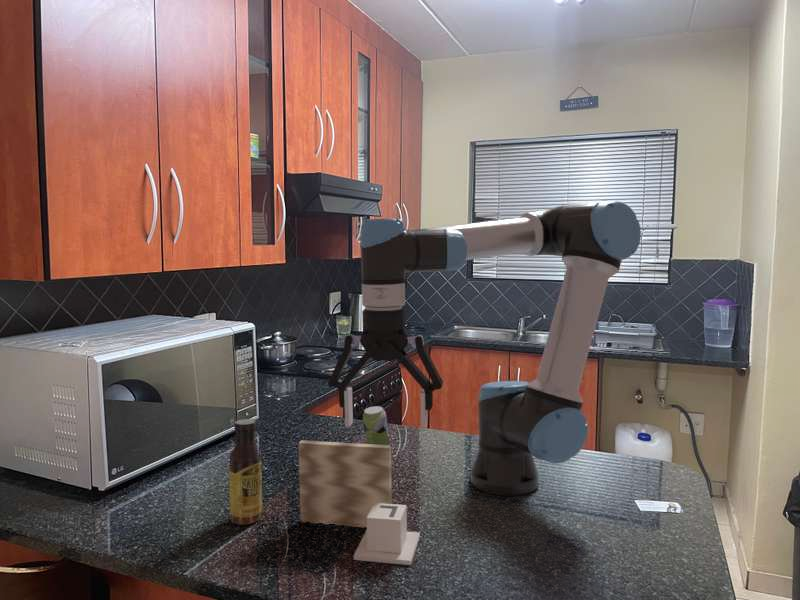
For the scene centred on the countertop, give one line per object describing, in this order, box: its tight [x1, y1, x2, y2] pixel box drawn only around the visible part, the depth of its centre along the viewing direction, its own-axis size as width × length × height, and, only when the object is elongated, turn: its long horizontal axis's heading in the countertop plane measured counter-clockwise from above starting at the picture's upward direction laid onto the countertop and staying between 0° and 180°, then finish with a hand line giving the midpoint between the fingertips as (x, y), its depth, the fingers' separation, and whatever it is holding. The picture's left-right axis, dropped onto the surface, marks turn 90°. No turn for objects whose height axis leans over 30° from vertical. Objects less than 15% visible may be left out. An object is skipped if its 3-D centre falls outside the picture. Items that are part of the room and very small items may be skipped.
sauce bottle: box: [228, 418, 263, 526], centre depth 118 cm, size 7×6×20 cm
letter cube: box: [366, 503, 408, 553], centre depth 107 cm, size 6×6×6 cm
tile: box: [353, 529, 421, 566], centre depth 107 cm, size 10×10×1 cm
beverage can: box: [362, 405, 391, 445], centre depth 155 cm, size 6×7×12 cm
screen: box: [298, 439, 393, 529], centre depth 118 cm, size 18×6×16 cm, turn 79°
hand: (386, 426), depth 106 cm, fingers open, 13 cm apart
